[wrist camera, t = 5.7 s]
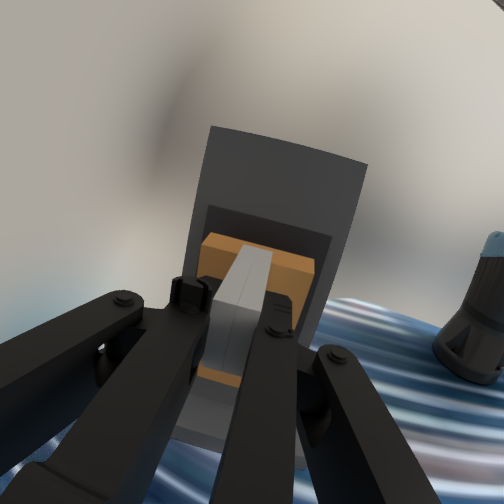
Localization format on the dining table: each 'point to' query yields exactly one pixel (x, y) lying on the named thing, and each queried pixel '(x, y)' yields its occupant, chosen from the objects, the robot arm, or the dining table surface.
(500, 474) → the dining table surface
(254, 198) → the switch stand
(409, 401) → the dining table surface
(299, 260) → the rocker
